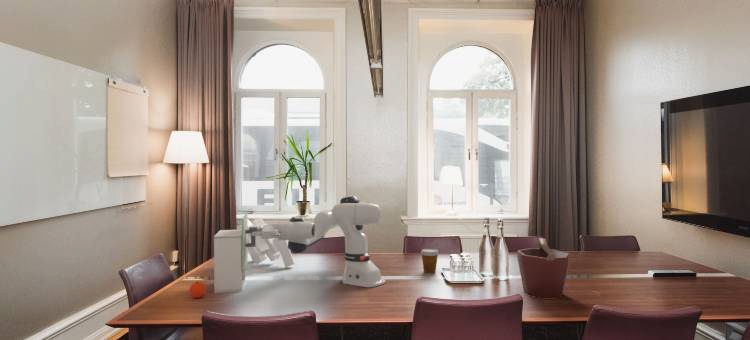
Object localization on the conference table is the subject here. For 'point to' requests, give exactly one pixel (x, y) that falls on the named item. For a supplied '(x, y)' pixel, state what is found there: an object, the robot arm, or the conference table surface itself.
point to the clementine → (197, 289)
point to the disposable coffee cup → (429, 260)
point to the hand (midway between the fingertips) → (252, 232)
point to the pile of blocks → (268, 246)
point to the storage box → (228, 261)
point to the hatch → (244, 241)
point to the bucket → (543, 270)
